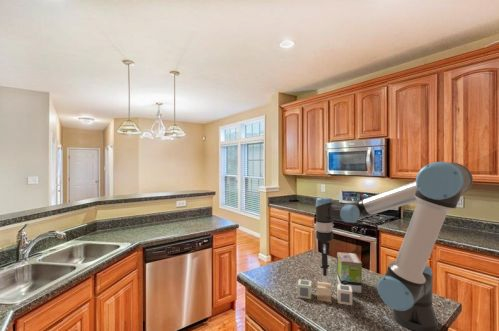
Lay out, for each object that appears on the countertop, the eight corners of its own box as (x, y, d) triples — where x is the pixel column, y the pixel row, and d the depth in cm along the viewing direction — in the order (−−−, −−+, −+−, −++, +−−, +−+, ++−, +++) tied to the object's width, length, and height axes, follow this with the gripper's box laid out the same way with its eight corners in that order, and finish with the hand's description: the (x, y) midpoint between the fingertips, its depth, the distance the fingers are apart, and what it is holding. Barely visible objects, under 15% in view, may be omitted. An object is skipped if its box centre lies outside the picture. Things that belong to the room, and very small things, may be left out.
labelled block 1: (310, 299, 117) (310, 286, 117) (297, 297, 118) (297, 284, 118) (311, 293, 122) (311, 280, 123) (298, 291, 124) (298, 278, 124)
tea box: (362, 293, 123) (362, 262, 123) (340, 291, 125) (340, 261, 125) (355, 280, 137) (355, 252, 137) (336, 278, 139) (336, 251, 139)
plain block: (331, 302, 114) (331, 289, 114) (317, 300, 116) (317, 287, 116) (330, 296, 120) (330, 283, 120) (317, 294, 122) (317, 281, 122)
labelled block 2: (352, 305, 111) (352, 291, 111) (337, 303, 113) (337, 289, 113) (351, 298, 117) (351, 285, 117) (337, 296, 119) (337, 283, 119)
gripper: (333, 234, 111) (333, 288, 110) (332, 228, 123) (333, 277, 123) (315, 233, 113) (316, 286, 113) (316, 227, 126) (317, 275, 125)
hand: (325, 281), depth 118 cm, fingers closed
